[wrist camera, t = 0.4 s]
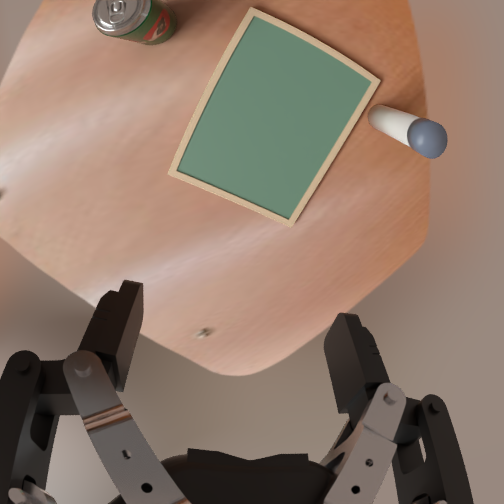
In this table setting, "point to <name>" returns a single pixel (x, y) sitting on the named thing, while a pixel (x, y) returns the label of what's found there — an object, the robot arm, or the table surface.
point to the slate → (272, 118)
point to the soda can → (135, 20)
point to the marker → (410, 130)
